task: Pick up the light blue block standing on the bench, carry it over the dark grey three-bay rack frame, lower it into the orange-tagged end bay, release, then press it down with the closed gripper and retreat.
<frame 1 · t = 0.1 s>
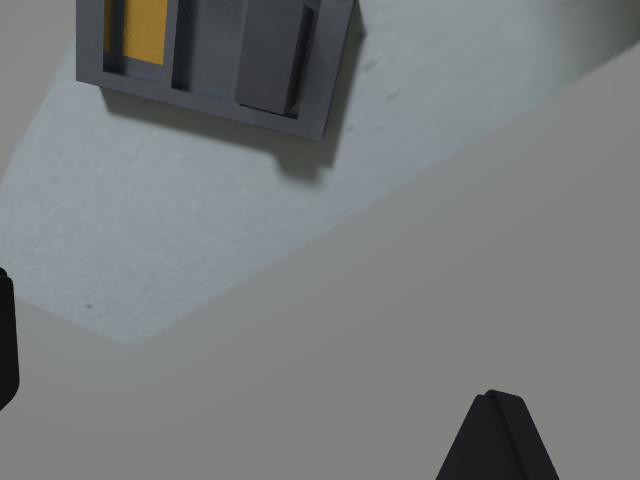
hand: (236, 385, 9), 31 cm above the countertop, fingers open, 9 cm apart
rack: (218, 37, 35), on the countertop
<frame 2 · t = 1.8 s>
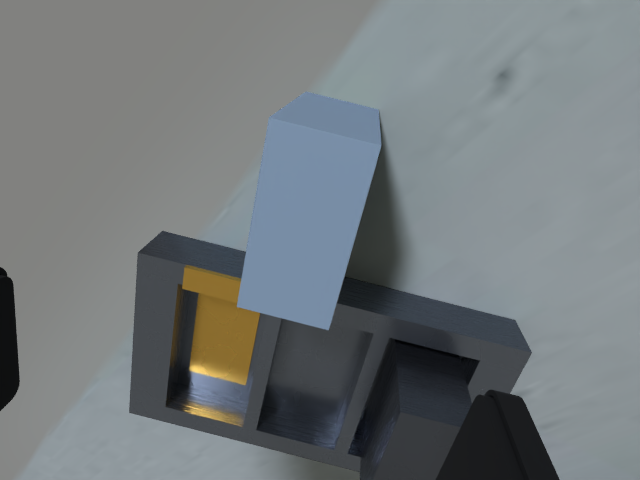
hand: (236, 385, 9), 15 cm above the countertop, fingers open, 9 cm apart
rack: (316, 352, 27), on the countertop
light blue block: (325, 171, 22), on the countertop
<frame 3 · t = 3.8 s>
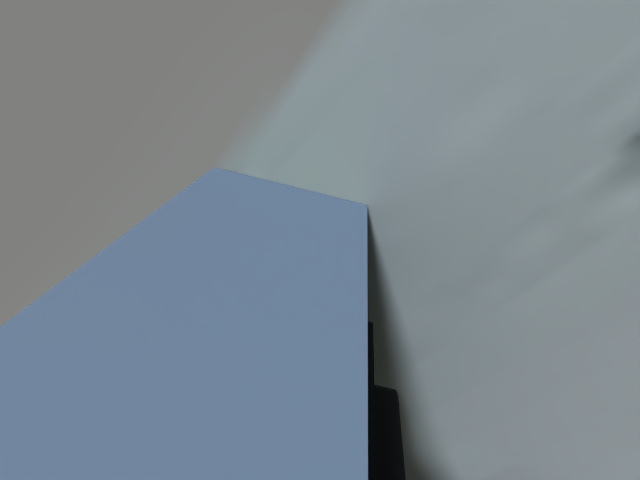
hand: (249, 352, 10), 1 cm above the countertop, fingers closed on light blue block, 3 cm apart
light blue block: (263, 316, 11), on the countertop, touching gripper
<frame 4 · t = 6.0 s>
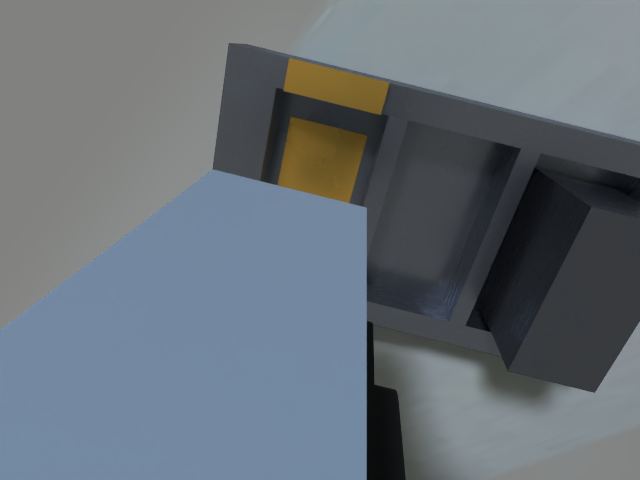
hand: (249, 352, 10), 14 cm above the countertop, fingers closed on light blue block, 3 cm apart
rack: (423, 209, 22), on the countertop
light blue block: (262, 318, 11), point 12 cm above the countertop, touching gripper
when the fingers open (3 cm above the countertop, at t = 8.6 s): light blue block drops 1 cm, resting on rack.
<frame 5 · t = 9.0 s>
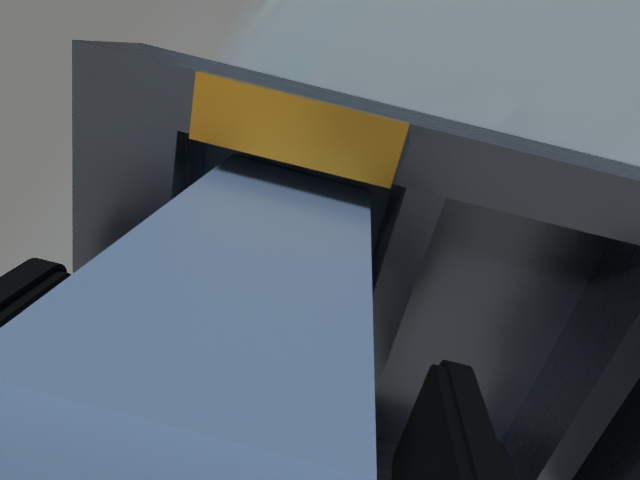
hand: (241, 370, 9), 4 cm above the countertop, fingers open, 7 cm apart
rack: (458, 323, 13), on the countertop
light blue block: (273, 292, 12), point 1 cm above the countertop, touching rack
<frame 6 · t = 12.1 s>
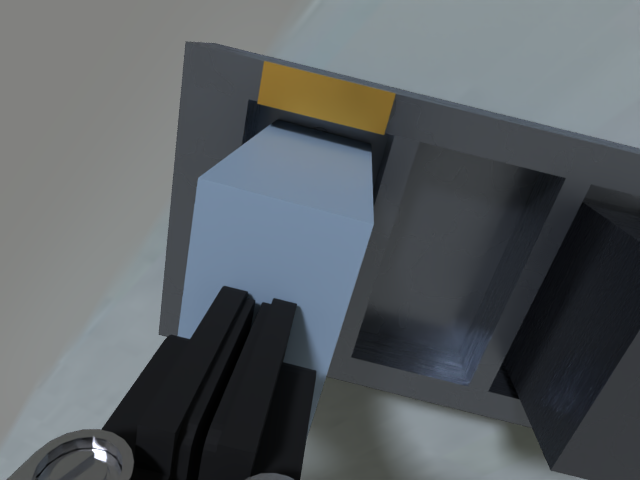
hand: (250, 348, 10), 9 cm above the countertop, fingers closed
rack: (435, 245, 18), on the countertop
light blue block: (302, 220, 17), point 1 cm above the countertop, touching gripper, rack
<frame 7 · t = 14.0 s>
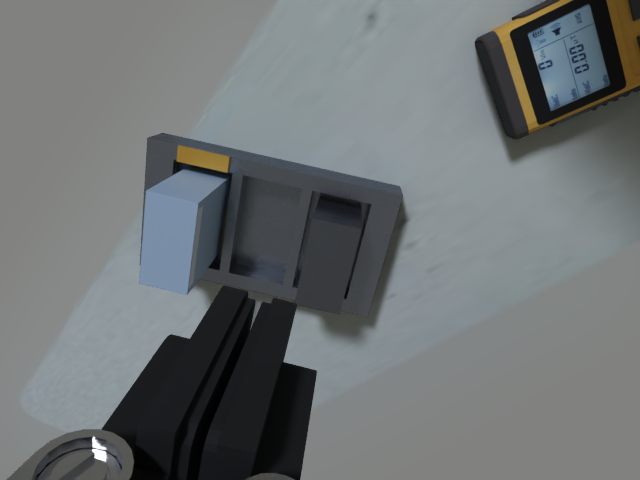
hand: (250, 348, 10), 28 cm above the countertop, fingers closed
electronic device: (594, 39, 32), on the countertop
rack: (270, 221, 38), on the countertop
light blue block: (205, 210, 38), point 1 cm above the countertop, touching rack
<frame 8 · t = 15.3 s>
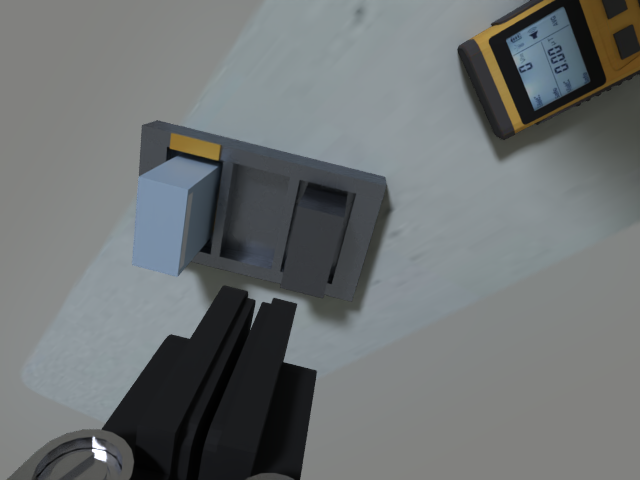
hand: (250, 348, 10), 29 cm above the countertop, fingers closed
electronic device: (574, 36, 33), on the countertop
rack: (260, 208, 40), on the countertop
light blue block: (198, 195, 39), point 1 cm above the countertop, touching rack
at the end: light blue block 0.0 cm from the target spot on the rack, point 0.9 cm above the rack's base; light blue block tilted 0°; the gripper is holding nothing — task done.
